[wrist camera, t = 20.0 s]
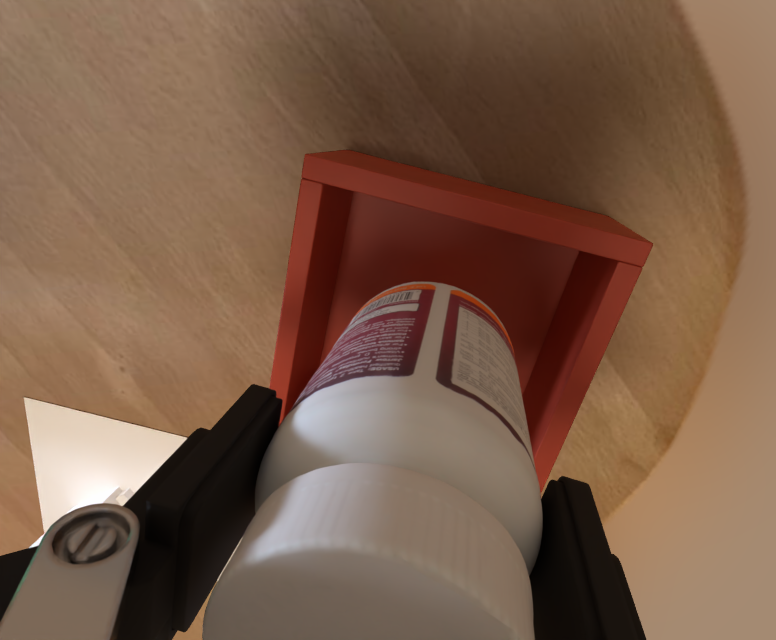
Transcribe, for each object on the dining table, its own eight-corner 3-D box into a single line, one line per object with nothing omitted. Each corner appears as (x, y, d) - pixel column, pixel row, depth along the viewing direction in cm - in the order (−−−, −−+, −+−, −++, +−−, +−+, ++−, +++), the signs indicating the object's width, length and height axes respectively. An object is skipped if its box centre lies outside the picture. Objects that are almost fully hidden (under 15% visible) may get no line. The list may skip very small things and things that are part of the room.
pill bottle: (331, 403, 19) (153, 730, 9) (364, 255, 17) (176, 455, 6) (484, 450, 19) (493, 856, 8) (541, 305, 16) (658, 611, 6)
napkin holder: (252, 450, 28) (200, 523, 23) (246, 589, 32) (201, 677, 27) (21, 396, 30) (-77, 452, 24) (44, 535, 34) (-35, 608, 29)
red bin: (346, 149, 21) (304, 153, 16) (609, 216, 20) (654, 243, 15) (305, 374, 26) (261, 435, 20) (519, 437, 25) (530, 517, 20)
